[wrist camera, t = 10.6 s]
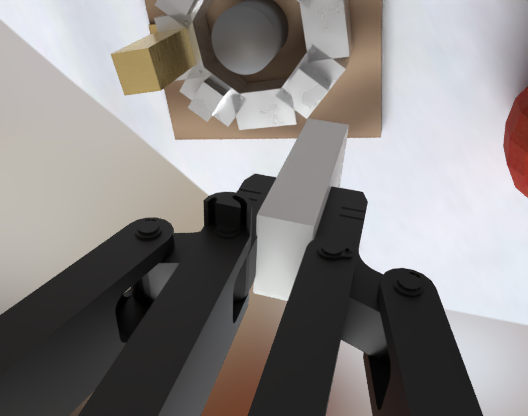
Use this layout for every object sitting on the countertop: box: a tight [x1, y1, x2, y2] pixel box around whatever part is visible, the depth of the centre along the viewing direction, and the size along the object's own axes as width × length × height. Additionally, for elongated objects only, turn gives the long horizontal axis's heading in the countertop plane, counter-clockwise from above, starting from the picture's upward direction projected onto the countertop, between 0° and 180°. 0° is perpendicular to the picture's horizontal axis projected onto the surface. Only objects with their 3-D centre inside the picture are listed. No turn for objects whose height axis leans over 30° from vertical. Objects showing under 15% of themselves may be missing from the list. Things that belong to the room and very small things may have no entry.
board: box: [145, 0, 382, 140], centre depth 39 cm, size 20×20×6 cm
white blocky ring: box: [111, 0, 353, 130], centre depth 37 cm, size 16×15×10 cm
